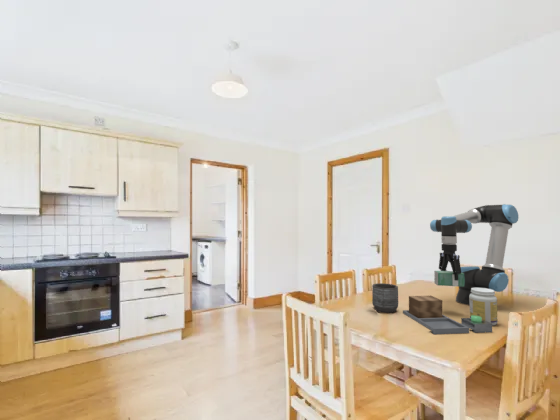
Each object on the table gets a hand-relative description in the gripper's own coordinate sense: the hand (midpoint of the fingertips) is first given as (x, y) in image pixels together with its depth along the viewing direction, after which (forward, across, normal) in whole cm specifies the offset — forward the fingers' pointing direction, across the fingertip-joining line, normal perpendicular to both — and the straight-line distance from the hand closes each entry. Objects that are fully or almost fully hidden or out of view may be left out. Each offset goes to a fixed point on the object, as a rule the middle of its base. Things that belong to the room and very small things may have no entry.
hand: (449, 284), depth 169 cm
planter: (+17, -10, -33) cm, 39 cm away
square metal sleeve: (+17, +21, -1) cm, 27 cm away
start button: (+15, +21, -1) cm, 26 cm away
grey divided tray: (+17, +11, -17) cm, 27 cm away
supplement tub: (+17, +12, +10) cm, 23 cm away
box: (+1, 0, 0) cm, 1 cm away
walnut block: (+16, +4, -17) cm, 24 cm away
